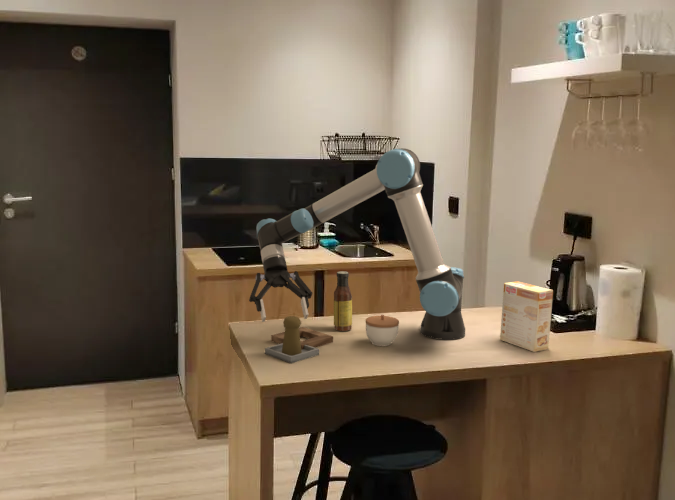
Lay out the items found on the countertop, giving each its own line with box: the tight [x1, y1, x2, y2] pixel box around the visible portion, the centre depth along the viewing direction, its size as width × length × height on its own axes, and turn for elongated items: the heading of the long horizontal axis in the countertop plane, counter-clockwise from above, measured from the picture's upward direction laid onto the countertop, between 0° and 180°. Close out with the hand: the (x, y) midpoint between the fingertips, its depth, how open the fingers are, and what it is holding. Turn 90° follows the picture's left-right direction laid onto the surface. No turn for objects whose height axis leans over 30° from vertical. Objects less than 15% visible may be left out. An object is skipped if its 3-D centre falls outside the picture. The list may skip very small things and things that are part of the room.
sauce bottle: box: [333, 270, 353, 332], centre depth 240 cm, size 6×6×20 cm
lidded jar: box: [365, 314, 400, 347], centre depth 227 cm, size 11×11×9 cm
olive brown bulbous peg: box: [282, 315, 302, 356], centre depth 213 cm, size 6×6×11 cm
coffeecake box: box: [499, 281, 554, 353], centre depth 229 cm, size 15×7×20 cm, turn 33°
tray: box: [264, 343, 320, 364], centre depth 214 cm, size 12×12×2 cm
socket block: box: [270, 326, 334, 350], centre depth 226 cm, size 14×14×2 cm
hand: (285, 318), depth 220 cm, fingers open, 13 cm apart
